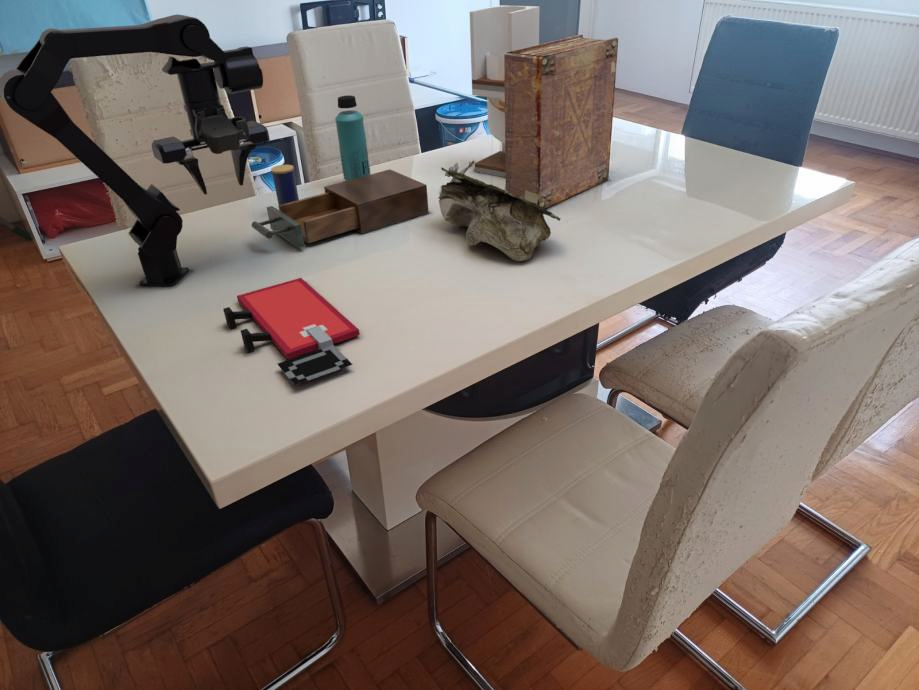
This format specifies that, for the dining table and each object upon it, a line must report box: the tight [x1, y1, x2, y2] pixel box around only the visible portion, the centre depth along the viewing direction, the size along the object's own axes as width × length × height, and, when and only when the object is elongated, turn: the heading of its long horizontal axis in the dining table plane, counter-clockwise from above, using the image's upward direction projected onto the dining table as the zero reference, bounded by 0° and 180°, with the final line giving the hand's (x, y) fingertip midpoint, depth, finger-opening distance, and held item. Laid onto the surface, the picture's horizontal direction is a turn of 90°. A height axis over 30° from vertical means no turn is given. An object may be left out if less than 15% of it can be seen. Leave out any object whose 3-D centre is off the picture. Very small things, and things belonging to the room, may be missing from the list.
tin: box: [270, 164, 300, 206], centre depth 142 cm, size 5×5×10 cm
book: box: [504, 34, 619, 210], centre depth 141 cm, size 25×9×30 cm, turn 136°
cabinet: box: [323, 169, 430, 235], centre depth 141 cm, size 16×14×6 cm
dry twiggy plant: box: [444, 160, 476, 182], centre depth 150 cm, size 10×6×9 cm
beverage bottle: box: [334, 94, 372, 181], centre depth 154 cm, size 6×7×20 cm
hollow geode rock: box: [438, 166, 562, 262], centre depth 125 cm, size 28×13×15 cm
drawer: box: [251, 192, 360, 249], centre depth 133 cm, size 20×13×5 cm, turn 127°
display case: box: [469, 4, 541, 178], centre depth 155 cm, size 11×11×35 cm
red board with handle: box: [223, 277, 361, 386], centre depth 102 cm, size 30×3×15 cm
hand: (223, 189), depth 121 cm, fingers open, 6 cm apart
